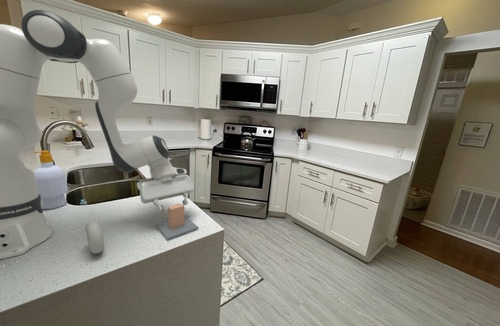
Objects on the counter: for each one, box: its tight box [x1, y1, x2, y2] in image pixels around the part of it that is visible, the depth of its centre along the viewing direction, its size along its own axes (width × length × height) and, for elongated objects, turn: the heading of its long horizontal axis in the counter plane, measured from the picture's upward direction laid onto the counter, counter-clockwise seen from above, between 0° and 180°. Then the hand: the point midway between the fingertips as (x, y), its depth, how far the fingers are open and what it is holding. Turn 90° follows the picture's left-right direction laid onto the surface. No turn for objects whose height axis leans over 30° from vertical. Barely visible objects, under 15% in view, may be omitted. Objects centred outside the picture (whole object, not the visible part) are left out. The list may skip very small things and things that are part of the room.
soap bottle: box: [32, 150, 69, 210], centre depth 87 cm, size 10×10×24 cm
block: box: [167, 202, 185, 229], centre depth 79 cm, size 5×3×8 cm, turn 133°
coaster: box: [154, 214, 199, 242], centre depth 80 cm, size 12×12×1 cm
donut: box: [85, 220, 105, 255], centre depth 64 cm, size 10×4×10 cm, turn 45°
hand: (174, 207), depth 79 cm, fingers open, 8 cm apart
